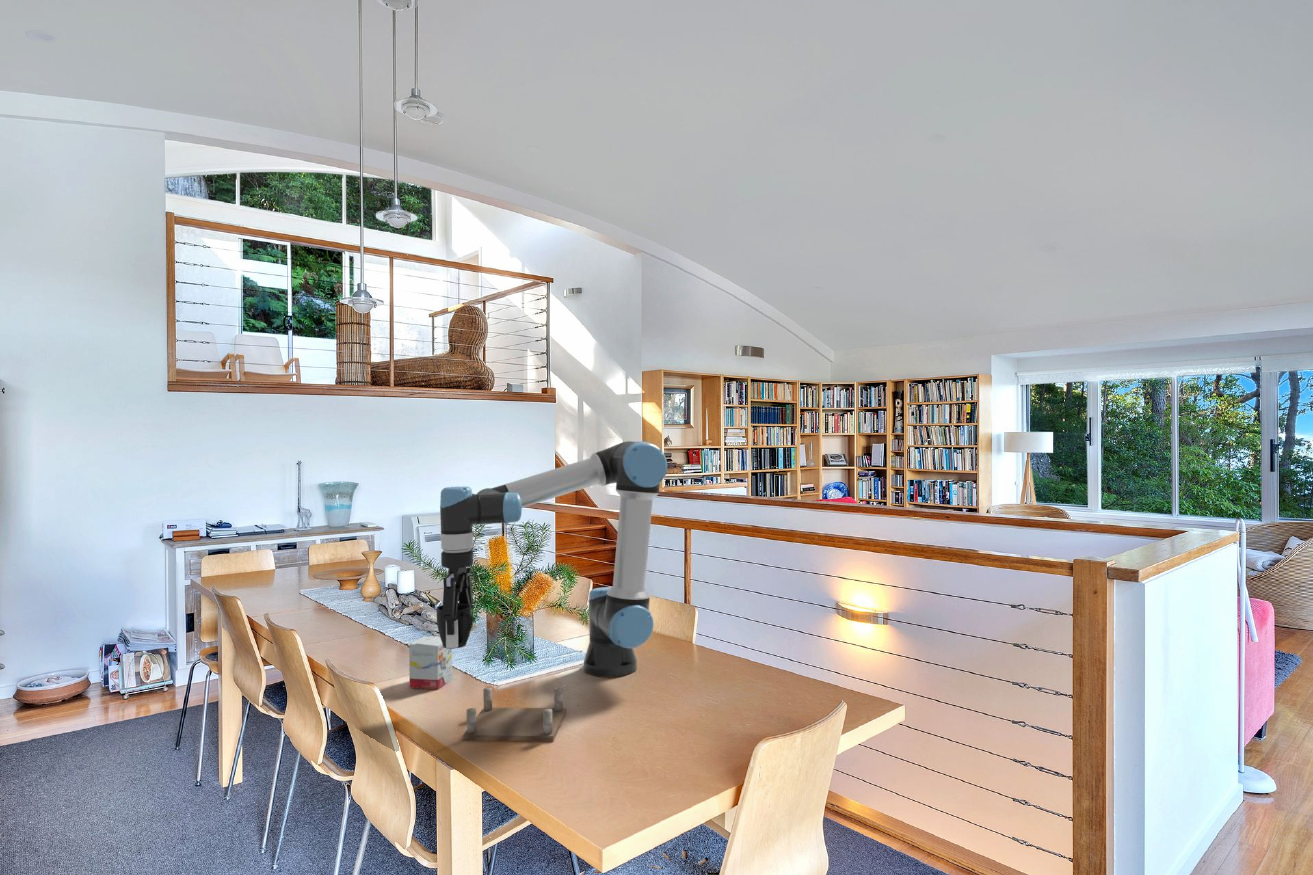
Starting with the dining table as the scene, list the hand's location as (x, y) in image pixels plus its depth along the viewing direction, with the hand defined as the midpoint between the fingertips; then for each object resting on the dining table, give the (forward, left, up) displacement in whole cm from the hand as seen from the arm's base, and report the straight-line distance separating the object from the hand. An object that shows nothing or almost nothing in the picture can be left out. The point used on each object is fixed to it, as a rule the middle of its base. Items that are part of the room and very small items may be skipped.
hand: (458, 641), depth 181 cm
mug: (0, +1, -1) cm, 2 cm away
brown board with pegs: (-17, +11, -16) cm, 26 cm away
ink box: (+13, -17, -17) cm, 27 cm away
